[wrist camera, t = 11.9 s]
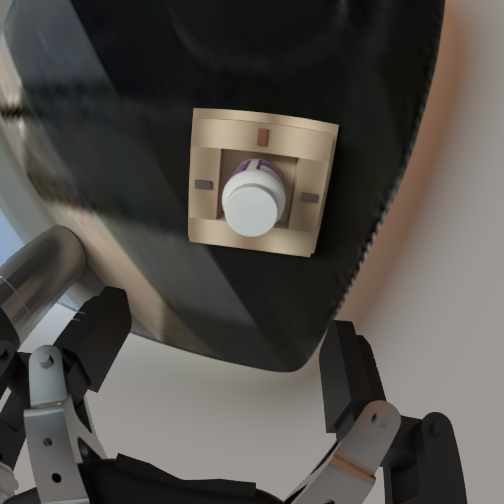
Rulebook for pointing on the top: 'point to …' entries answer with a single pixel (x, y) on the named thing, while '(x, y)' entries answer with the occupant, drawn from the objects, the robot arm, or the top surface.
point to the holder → (268, 148)
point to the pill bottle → (254, 197)
